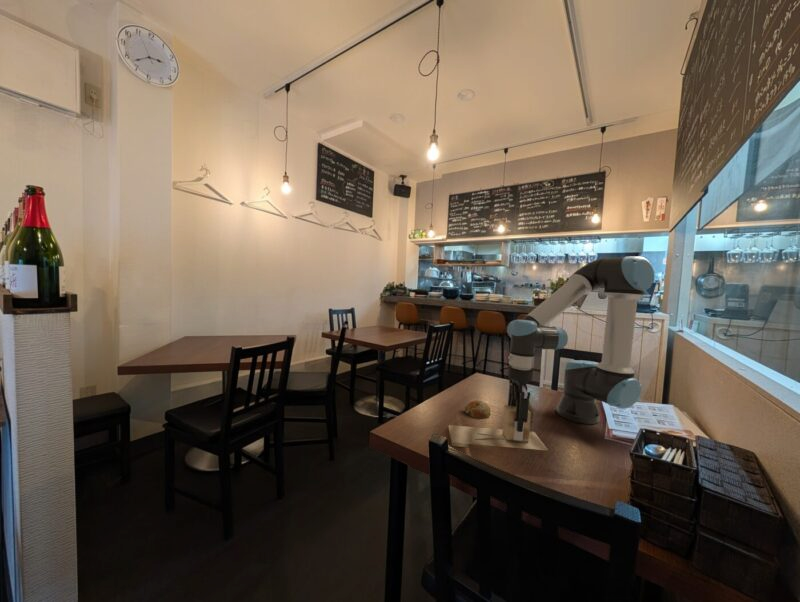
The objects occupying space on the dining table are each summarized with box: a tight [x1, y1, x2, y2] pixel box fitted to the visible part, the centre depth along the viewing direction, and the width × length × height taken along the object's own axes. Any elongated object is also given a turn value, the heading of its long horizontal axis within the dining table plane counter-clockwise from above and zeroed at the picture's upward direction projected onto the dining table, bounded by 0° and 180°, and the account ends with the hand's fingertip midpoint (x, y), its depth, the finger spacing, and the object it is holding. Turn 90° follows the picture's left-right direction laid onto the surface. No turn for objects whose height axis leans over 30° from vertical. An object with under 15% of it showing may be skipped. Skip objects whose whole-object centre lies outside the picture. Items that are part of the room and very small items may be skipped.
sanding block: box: [502, 404, 531, 443], centre depth 103 cm, size 7×5×10 cm
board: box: [448, 424, 549, 451], centre depth 104 cm, size 30×12×1 cm, turn 87°
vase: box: [528, 401, 535, 423], centre depth 119 cm, size 7×7×9 cm
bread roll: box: [463, 399, 491, 420], centre depth 122 cm, size 10×10×8 cm
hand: (515, 435), depth 103 cm, fingers closed on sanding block, 5 cm apart
